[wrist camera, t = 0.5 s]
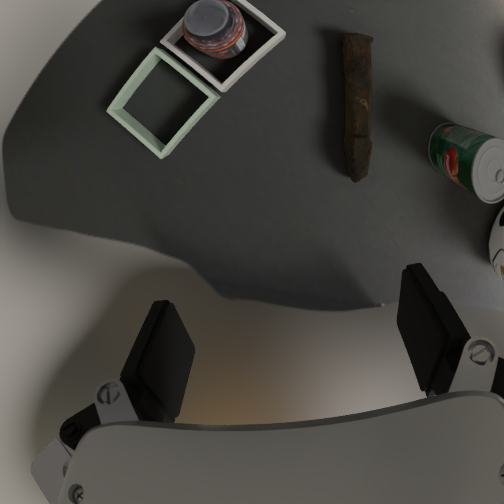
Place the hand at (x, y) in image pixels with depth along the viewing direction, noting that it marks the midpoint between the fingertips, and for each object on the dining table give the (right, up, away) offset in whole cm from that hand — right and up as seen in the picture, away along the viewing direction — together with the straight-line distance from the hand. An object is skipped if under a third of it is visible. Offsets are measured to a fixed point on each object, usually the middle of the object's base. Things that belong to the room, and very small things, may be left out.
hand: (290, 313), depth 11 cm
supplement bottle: (-5, +28, +17) cm, 33 cm away
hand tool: (+12, +21, +20) cm, 31 cm away
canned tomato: (+26, +17, +21) cm, 38 cm away
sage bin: (-13, +21, +21) cm, 33 cm away
